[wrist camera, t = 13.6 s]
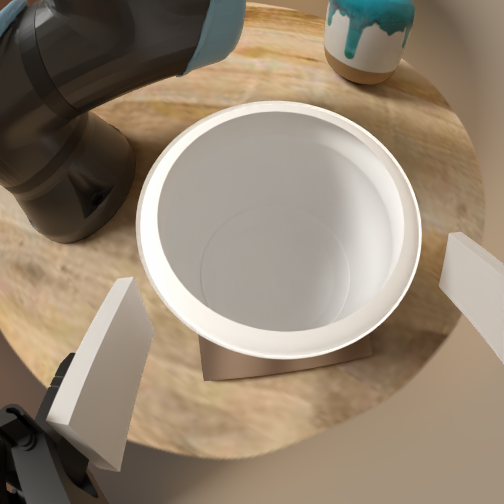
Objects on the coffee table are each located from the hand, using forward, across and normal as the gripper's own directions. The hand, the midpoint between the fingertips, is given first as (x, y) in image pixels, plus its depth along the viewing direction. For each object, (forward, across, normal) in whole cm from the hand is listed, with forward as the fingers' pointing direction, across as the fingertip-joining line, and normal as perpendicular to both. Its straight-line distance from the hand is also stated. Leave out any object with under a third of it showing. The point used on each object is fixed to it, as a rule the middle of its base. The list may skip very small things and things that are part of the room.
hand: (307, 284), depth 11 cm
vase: (+32, +16, +11) cm, 37 cm away
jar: (+11, -1, -8) cm, 13 cm away
